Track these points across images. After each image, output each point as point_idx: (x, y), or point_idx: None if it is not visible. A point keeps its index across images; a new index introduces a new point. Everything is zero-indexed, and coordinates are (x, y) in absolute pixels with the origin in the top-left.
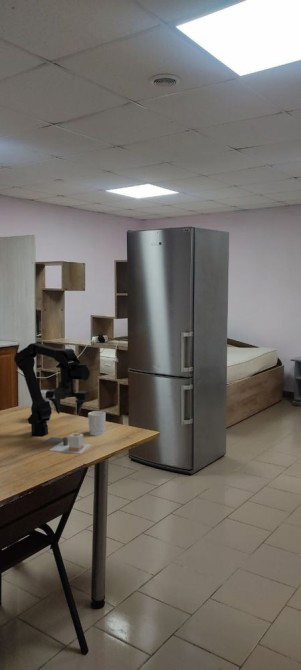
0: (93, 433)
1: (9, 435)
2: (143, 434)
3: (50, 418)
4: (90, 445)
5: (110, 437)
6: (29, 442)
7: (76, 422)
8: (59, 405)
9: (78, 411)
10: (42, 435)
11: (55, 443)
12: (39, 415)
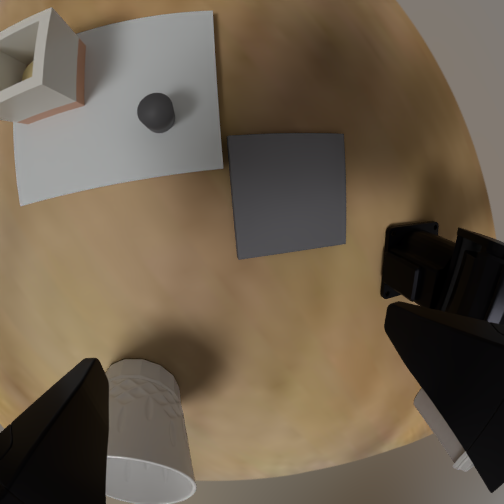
0: (130, 369)
1: (484, 213)
2: (11, 420)
3: (417, 407)
4: (19, 187)
5: (61, 372)
6: (404, 144)
7: (328, 441)
8: (446, 394)
9: (52, 390)
10: (395, 246)
11: (256, 139)
12: (492, 255)
